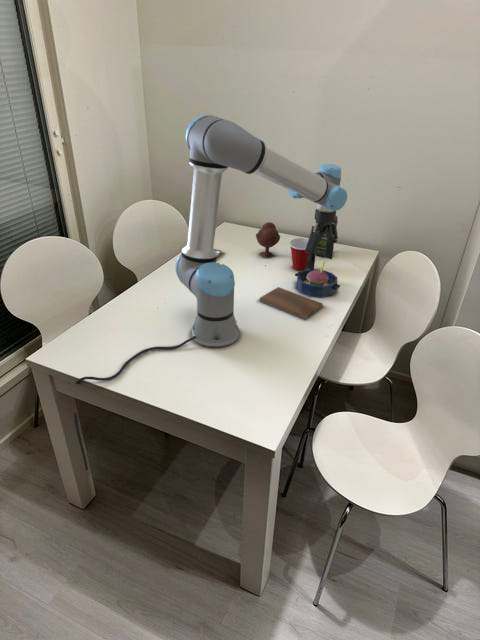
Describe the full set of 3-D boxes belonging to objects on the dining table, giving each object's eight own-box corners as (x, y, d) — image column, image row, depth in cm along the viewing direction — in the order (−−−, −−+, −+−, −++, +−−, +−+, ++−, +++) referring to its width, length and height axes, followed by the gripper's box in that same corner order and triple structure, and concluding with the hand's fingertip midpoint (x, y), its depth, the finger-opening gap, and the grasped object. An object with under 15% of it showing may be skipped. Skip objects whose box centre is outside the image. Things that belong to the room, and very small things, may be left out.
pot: (326, 302, 171) (328, 291, 169) (285, 287, 181) (286, 277, 179) (346, 288, 182) (348, 278, 179) (306, 274, 191) (307, 264, 189)
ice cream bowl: (250, 252, 210) (252, 221, 202) (271, 249, 214) (274, 218, 206) (261, 261, 202) (263, 229, 194) (283, 257, 206) (285, 225, 198)
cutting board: (305, 319, 160) (305, 316, 159) (259, 301, 171) (259, 297, 170) (322, 307, 168) (323, 303, 167) (278, 290, 179) (278, 286, 178)
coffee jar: (309, 254, 210) (314, 215, 200) (314, 249, 216) (319, 210, 206) (330, 258, 207) (336, 219, 197) (334, 252, 213) (340, 213, 203)
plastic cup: (285, 272, 193) (287, 245, 187) (288, 262, 202) (291, 236, 196) (310, 275, 191) (313, 248, 185) (313, 265, 200) (316, 239, 194)
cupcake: (326, 283, 185) (330, 256, 178) (327, 293, 177) (331, 265, 171) (305, 282, 185) (308, 254, 179) (305, 291, 178) (308, 263, 172)
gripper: (316, 220, 155) (310, 276, 166) (351, 203, 171) (343, 256, 182) (298, 215, 159) (293, 271, 170) (333, 199, 175) (327, 251, 186)
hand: (319, 263), depth 176 cm, fingers open, 13 cm apart
